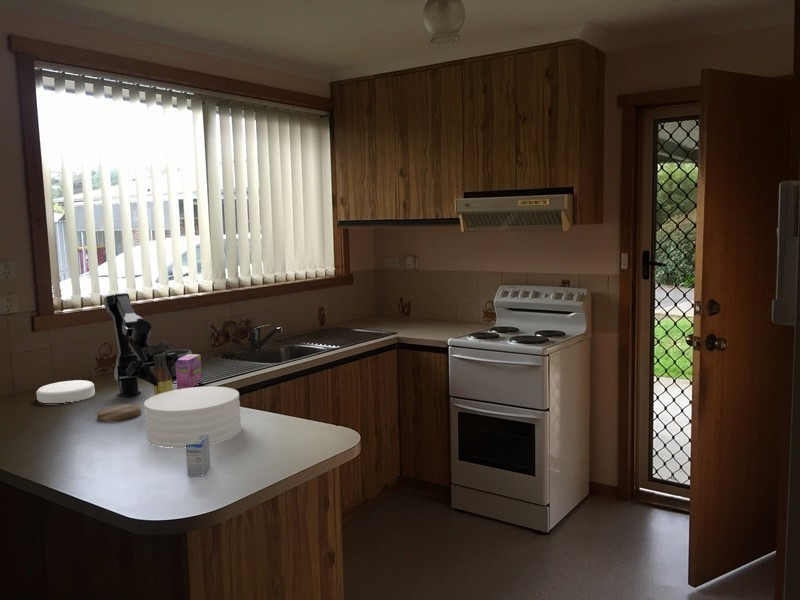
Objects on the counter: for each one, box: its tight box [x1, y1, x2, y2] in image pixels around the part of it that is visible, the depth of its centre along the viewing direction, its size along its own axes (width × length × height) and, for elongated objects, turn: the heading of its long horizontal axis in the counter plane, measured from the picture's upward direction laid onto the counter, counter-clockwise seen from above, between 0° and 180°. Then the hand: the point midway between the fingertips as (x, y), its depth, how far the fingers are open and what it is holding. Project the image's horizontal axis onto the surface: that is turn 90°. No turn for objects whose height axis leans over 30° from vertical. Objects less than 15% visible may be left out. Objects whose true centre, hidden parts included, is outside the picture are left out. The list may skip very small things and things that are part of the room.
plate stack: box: [143, 386, 242, 449], centre depth 215 cm, size 28×28×12 cm
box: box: [175, 353, 203, 390], centre depth 277 cm, size 10×6×12 cm, turn 168°
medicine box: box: [185, 435, 211, 477], centre depth 183 cm, size 8×4×9 cm, turn 5°
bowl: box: [163, 349, 193, 377], centre depth 297 cm, size 15×15×10 cm
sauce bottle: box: [152, 353, 174, 396], centre depth 243 cm, size 7×6×20 cm
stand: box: [96, 403, 142, 422], centre depth 239 cm, size 14×14×2 cm
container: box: [35, 379, 96, 404], centre depth 267 cm, size 20×20×5 cm
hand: (165, 383), depth 242 cm, fingers closed on sauce bottle, 6 cm apart
